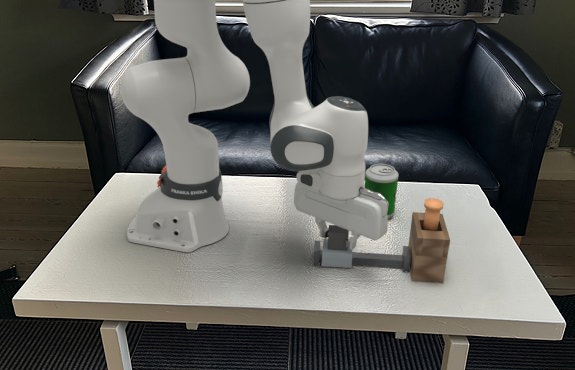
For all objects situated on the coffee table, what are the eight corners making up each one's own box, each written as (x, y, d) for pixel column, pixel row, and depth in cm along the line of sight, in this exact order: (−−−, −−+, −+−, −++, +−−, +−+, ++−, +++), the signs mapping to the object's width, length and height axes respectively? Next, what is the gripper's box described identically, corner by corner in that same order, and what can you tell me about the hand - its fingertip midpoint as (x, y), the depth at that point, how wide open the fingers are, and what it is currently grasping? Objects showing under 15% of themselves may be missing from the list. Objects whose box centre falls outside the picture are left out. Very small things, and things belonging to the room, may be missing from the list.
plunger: (421, 234, 110) (425, 206, 107) (419, 225, 113) (423, 197, 110) (440, 236, 109) (444, 207, 107) (437, 226, 113) (442, 198, 110)
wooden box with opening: (412, 281, 111) (417, 237, 106) (407, 253, 120) (412, 212, 115) (443, 283, 110) (450, 239, 106) (436, 254, 119) (442, 213, 115)
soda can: (393, 224, 131) (398, 177, 125) (360, 220, 132) (364, 174, 126) (394, 208, 137) (399, 163, 132) (363, 205, 138) (367, 160, 133)
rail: (313, 265, 115) (313, 250, 114) (314, 254, 119) (314, 240, 117) (409, 272, 114) (411, 257, 112) (407, 260, 117) (409, 246, 116)
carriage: (321, 266, 114) (323, 234, 111) (322, 252, 119) (324, 222, 116) (351, 268, 114) (353, 236, 111) (351, 254, 118) (353, 223, 115)
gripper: (397, 190, 105) (390, 253, 111) (308, 161, 116) (306, 219, 122) (380, 203, 100) (374, 267, 106) (289, 171, 111) (288, 231, 118)
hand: (337, 241), depth 114 cm, fingers closed on carriage, 5 cm apart
